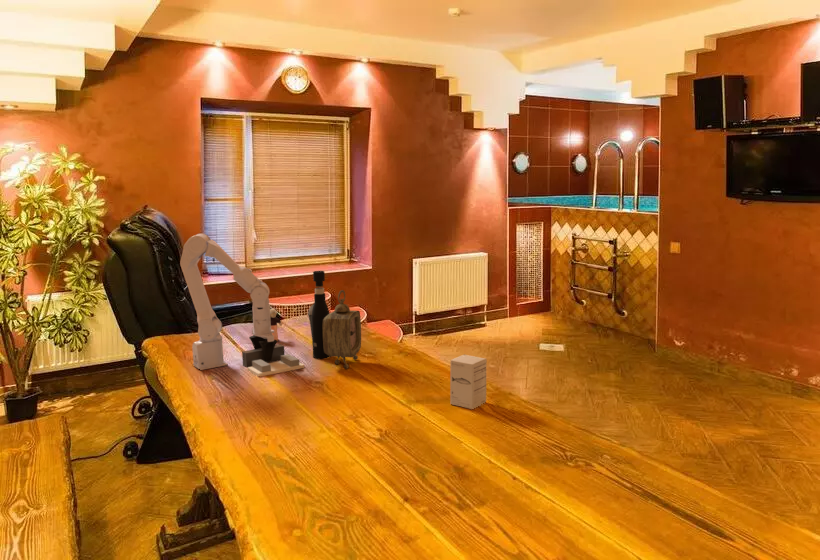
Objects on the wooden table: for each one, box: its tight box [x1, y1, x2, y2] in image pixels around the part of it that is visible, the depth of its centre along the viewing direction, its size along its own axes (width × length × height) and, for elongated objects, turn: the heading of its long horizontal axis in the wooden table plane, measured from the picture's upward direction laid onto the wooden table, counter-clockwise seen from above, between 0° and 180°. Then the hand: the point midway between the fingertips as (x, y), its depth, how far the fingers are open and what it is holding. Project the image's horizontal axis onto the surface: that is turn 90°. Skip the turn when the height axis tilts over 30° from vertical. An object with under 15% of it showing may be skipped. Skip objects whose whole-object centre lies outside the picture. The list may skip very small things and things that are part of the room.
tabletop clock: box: [323, 289, 362, 370], centre depth 213 cm, size 14×9×25 cm, turn 168°
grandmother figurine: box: [270, 308, 283, 342], centre depth 248 cm, size 8×4×13 cm, turn 143°
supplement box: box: [449, 354, 488, 410], centre depth 174 cm, size 7×7×13 cm
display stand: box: [246, 354, 305, 377], centre depth 211 cm, size 16×9×3 cm, turn 125°
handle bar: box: [241, 344, 286, 368], centre depth 219 cm, size 14×3×5 cm, turn 128°
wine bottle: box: [311, 270, 332, 360], centre depth 223 cm, size 6×6×30 cm
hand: (263, 358), depth 219 cm, fingers open, 7 cm apart
